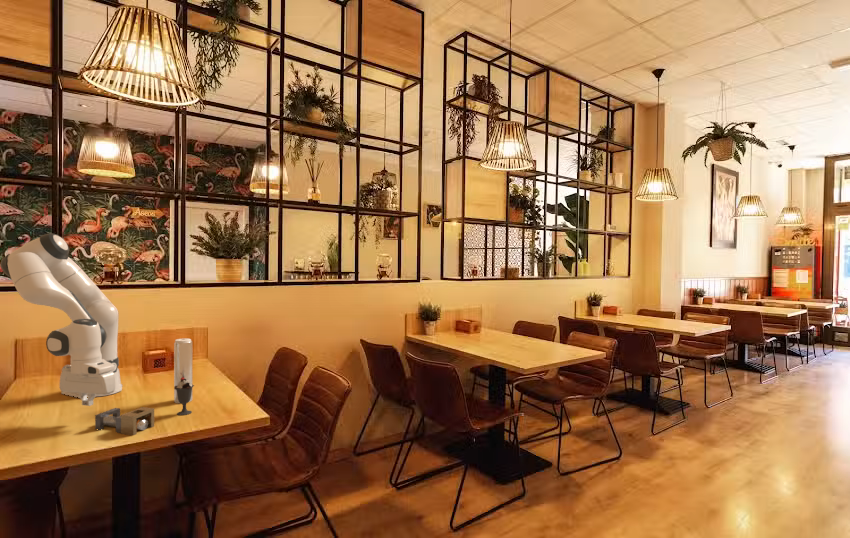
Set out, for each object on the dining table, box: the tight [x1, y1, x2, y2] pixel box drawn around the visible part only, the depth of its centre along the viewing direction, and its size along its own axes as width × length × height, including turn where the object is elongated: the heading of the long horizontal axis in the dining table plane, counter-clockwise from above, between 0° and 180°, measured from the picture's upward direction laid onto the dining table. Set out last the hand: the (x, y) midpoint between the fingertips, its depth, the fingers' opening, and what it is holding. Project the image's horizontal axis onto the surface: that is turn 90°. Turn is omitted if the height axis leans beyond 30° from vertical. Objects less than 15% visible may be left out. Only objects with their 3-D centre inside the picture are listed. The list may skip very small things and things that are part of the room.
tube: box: [103, 415, 149, 431], centre depth 158 cm, size 18×3×3 cm, turn 76°
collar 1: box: [94, 407, 121, 431], centre depth 158 cm, size 2×8×5 cm, turn 166°
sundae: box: [173, 373, 195, 416], centre depth 172 cm, size 7×7×15 cm
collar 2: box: [115, 413, 139, 434], centre depth 156 cm, size 2×8×5 cm, turn 166°
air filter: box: [173, 338, 193, 404], centre depth 186 cm, size 6×6×25 cm
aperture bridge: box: [120, 406, 155, 436], centre depth 155 cm, size 5×8×6 cm, turn 166°
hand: (87, 405), depth 162 cm, fingers closed
